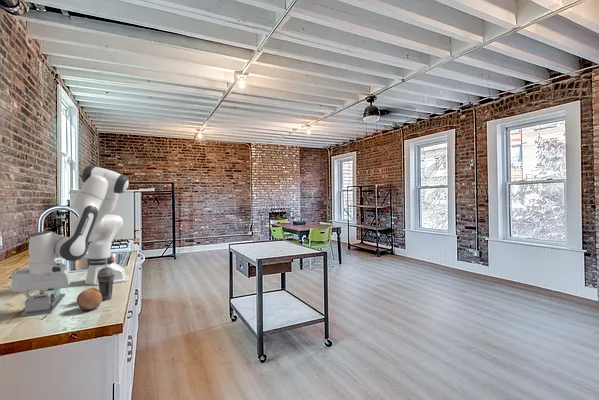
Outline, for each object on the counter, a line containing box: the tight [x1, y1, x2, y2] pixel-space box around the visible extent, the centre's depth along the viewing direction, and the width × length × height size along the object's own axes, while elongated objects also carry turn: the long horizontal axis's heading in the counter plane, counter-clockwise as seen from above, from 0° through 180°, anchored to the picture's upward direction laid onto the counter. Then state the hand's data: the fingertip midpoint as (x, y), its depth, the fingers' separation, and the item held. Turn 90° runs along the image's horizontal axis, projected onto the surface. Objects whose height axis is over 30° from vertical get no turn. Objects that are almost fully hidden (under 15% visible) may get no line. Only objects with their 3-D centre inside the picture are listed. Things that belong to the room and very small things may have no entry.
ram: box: [43, 288, 61, 300], centre depth 149 cm, size 6×11×8 cm, turn 26°
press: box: [20, 293, 66, 318], centre depth 142 cm, size 10×26×6 cm, turn 26°
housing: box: [32, 289, 51, 298], centre depth 138 cm, size 5×5×7 cm
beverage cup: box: [97, 258, 115, 302], centre depth 151 cm, size 7×7×20 cm
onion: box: [76, 287, 103, 311], centre depth 138 cm, size 10×9×10 cm
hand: (41, 299), depth 138 cm, fingers open, 7 cm apart
